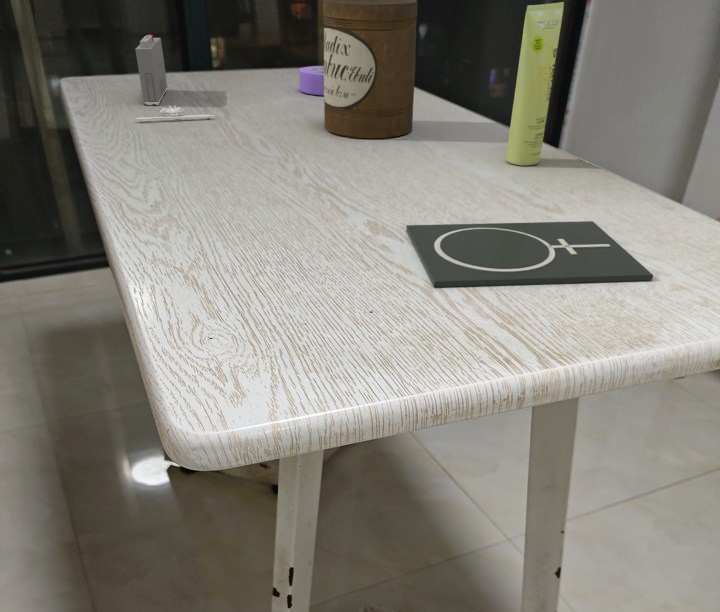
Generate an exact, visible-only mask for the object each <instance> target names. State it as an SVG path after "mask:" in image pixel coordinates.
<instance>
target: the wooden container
mask: <svg viewBox="0 0 720 612" xmlns="http://www.w3.org/2000/svg"><path fill="white" fill-rule="evenodd" d="M322 15H323V16H322V18H323V24H324V25H323V66H324V95H323V103H324V107H323V108H324V109H323V113H324V114H323V115H324V128H325V130H326V131H327V132H328V133H329V132H330V133H331V134H334V135H337V136H340V137H347V138H353V139H354V138H357V139H358V138H359V139H390V138H395V137H400V136H404V135H406V134H409V133H410V132H411V131H412V130H413V119H414V118H413V117H414V114H413V113H414V99H415V98H414V97H415V81H416V80H415V79H416V52H417V51H416V49H417V47H416V46H417V23H418V21H417V19H418V18H417V17H418V0H322Z"/></svg>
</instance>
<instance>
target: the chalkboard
mask: <svg viewBox="0 0 720 612" xmlns="http://www.w3.org/2000/svg"><path fill="white" fill-rule="evenodd" d="M405 230H406V233H407V235H408V237H409V238H410V241H411V243H412V245H413V247H414V250H415V252H416V253H417V255H418V257H419V259H420V261H421V263H422V265H423V267H424V270H425V271H426V273H427V275H428V277H429V279H430V282H431V283H432V286H433V287H434V288H451V287H452V288H453V287H455V288H456V287H485V286H486V287H488V286H515V285H516V286H517V285H547V284H549V285H550V284H551V285H552V284H578V283H582V284H583V283H609V282H610V283H612V282H615V283H616V282H643V281H644V282H646V281H652V280H653V278H654V274H653V273H652V272H650V271H649V269H647V268H646V267H645V266H644V265H643V264H642V263H641V262H639V260H637V259H636V258H635V257H634V256H632V254H630V252H628V251H627V250H626V249H625V248H624V247H622V246H621V245H620V244H619V243H618V242H617V241H616V240H615V239H613V237H611V236H610V235H609V234H608V233H607V232H605V230H603V229H602V228H601V227H600V226H599V225H598V224H597V223H595V222H594V220H588V221H587V220H586V221H583V220H582V221H545V222H543V221H542V222H539V221H538V222H497V223H495V222H494V223H492V222H491V223H489V222H488V223H454V224H453V223H451V224H450V223H449V224H448V223H447V224H444V223H443V224H407V225H406V227H405Z"/></svg>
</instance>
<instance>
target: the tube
mask: <svg viewBox="0 0 720 612" xmlns="http://www.w3.org/2000/svg"><path fill="white" fill-rule="evenodd" d="M564 6H565V2H564V1H561V2H553V3H544V4H543V3H542V4H534V5H533V4H530V5H527V6H526V11H525V15H524V16H525V17H524V22H523V23H524V24H523V29H522V30H523V31H522V32H523V33H522V39H521V46H520V53H519V59H518V67H517V75H516V83H515V90H514V97H513V103H512V111H511V118H510V125H509V132H508V139H507V146H506V154H505V161H506V162H507V163H508V164H512V165H516V166H534V165H537V164H539V162H540V161H541V154H542V149H543V143H544V142H543V141H544V135H545V129H546V123H547V118H548V117H547V116H548V111H549V104H550V98H551V92H552V86H553V81H554V80H553V79H554V73H555V68H556V67H555V66H556V61H557V54H558V47H559V42H560V41H559V40H560V33H561V28H562V21H563V15H564Z"/></svg>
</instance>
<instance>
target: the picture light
mask: <svg viewBox="0 0 720 612" xmlns="http://www.w3.org/2000/svg"><path fill="white" fill-rule="evenodd" d="M176 106H177V105H173V107H174V108H173V107H172V106H171V105H169V108H167V107H163V108H162V109H161V110H160V114H161V115H162V114H170V115H169V116H151V117H150V116H149V117H148V116H147V117H136V118H135V119H150V118H151V119H152V118H154V119H155V118H186V117H214V118H216V115H215V114H193V115H192V114H191V115H181V116H179V115H178V114H179V113H183V114H185V110H184V109H183V108H181V107H179V106H178V107H176ZM177 113H178V114H177Z"/></svg>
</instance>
